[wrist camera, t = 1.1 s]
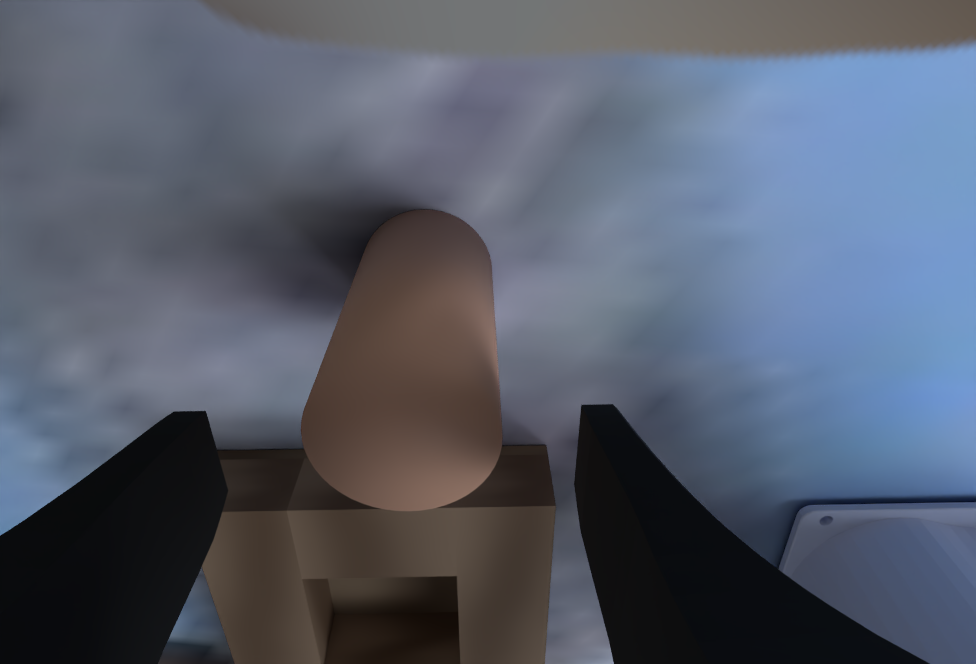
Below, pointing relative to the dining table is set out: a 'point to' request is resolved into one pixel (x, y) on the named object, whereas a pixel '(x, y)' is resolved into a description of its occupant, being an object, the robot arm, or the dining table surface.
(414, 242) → the pin
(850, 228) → the dining table surface
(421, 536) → the bore board
